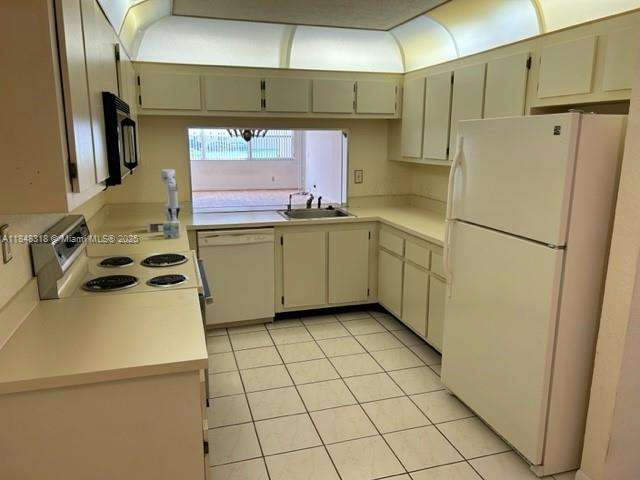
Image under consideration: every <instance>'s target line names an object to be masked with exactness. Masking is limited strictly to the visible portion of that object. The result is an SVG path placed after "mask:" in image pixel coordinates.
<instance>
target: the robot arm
mask: <svg viewBox="0 0 640 480" xmlns="http://www.w3.org/2000/svg"><path fill="white" fill-rule="evenodd" d="M160 176H161V177H160V178H161V181H162V182H164V184H165V192H166V201H167V202H166V203H165V205H164V206H162V209H163V211H164V216H165V217H166V221H178V217H179V213H180V211H181V210H184V209H185V205H179V202H178V187H179V186H178V182H176V170H175V169H174V168H169V169H168V168H165V169H163V168H162V169H160Z"/></svg>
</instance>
